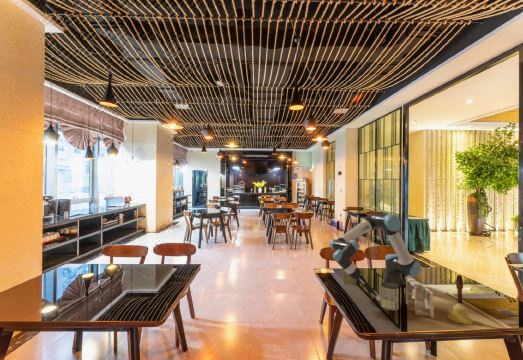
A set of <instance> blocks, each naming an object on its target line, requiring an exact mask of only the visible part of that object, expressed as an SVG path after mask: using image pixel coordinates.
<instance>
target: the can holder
mask: <svg viewBox="0 0 523 360" xmlns="http://www.w3.org/2000/svg"><path fill="white" fill-rule="evenodd" d="M404 278H405V279H404V280H405V303H406V305H407V306H414V314H415V316H427V317H428V316H429V317H430V318H433V319H435V315H434V314H435V313H434V311H435V310H434V309H435V308H434V305H435V304H434V303H435V302H434V300H435V299H434V292H433V291H432V290H430V289H429V288H428V287H427V286H425V285H424V284H423V283H422V282H421V281H420V282H418V281H417V280H416V279H415V278H413V276H406V275H405V277H404ZM413 288H414V292H413ZM413 293H414V297H413Z"/></svg>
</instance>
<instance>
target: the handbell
mask: <svg viewBox="0 0 523 360" xmlns="http://www.w3.org/2000/svg"><path fill="white" fill-rule="evenodd" d="M463 279H464V278H463V276H462V275H461V274H457V275H456V277H455V286H456V287H455V288H456V291H457V293H456V294H457V304H454V305H453V307H452V312H451V313H450V314H448V315H447V318H448V319H449V320H450V321H453V322H456V323H458V324H461V323H463V324H462V325H472V324H471V323H473V321H474V320H473V319H472V318H471V317H470V316H469V315H468V308H467V307H466V306H464V304H463V289H464V280H463ZM473 324H474V323H473Z"/></svg>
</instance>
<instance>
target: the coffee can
mask: <svg viewBox="0 0 523 360" xmlns="http://www.w3.org/2000/svg"><path fill="white" fill-rule="evenodd" d="M399 287H400V286H399V285H397V284H395V283H391V282H383V281H382V282H381V283H380V297H381V298H382V299H381V300H380V301H381V303H380V306H381V307H382V308H383V309H385V310H388V311H398V310H399V308H400V307H399V305H400V304H399V300H400V299H399V297H400V296H399V295H400V294H399Z"/></svg>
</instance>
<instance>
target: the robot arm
mask: <svg viewBox="0 0 523 360" xmlns="http://www.w3.org/2000/svg"><path fill="white" fill-rule="evenodd" d="M401 224H402V222H401V220H400V218H399V216H397V215H396V214H390V213H388V214H387V213H379V212H375V213H372V214H370V215H368V216H366V217H365V218H363V219H362V220H360V223H358V224H356V225H355V226H353V228H351V229H349V230H348V231H347V232H346V233H344V234H343V235H341V236H340V237H338V238H336V239H335V238H333V239H331V240H330V241H329V248H330V249H331V250H333V251H335V252H333V254H332V258H333V260H334V261H335V262H336V263H337V264H338V265H339V266H340V267H341V268H342V269H343V270H344V273H347V275H349V276H348V277H350V278H351V279H353V280H355V279H356V280H357V282H358V283H360V284H361V285H362V286H363V287H364V288H365V289H366V291H368V292H369V294H370V295H372V296H373V297H374V298H375V299H376V300H377V301H378V302H380V301H381V299H382V298H381V295H379V293H378V292H377V291H376V290H375V288H374V287H372V286H371V284H369V283H368V281H366V278H364V276H363V274H362V271H361V269H360V268H359V266H357V265H356V264H355V263H354V262H353V261H352V260H351V259H352V257H353V256H354V255H355V254H356V253H357V252H358V250H359V249H360V248H361V246H360V244H359V243H358V242H357V241H356V240H357V239H358V238H359V237H361V236H363V235H364V234H365V233H367V232H369V231H372V230H375V229H377V230H381V231H382V233H383V235H385V236H387V239H388V240H389V243H390V244H391V246H392V248H393V251H394V252H395V253H389V254H386V255H385V260H384V262H385V263H384V265H385V273H384V276H383V279H382V280H383V281H382V282H391V283H395V284H397V285H399V287H404V286H405V281H404V277H403V274H404V275H408V276H409V277H418V275H420V273H421V269H422V264H421V262H420V261H418V260H416V259H415V257H414V256H413V255H412V254H410V251H409V250H408V248H407V246H406V244H405V242H404V241H405V240H404V239H403V237H402V235H401V233H400V230H401V226H402V225H401ZM403 285H404V286H403Z"/></svg>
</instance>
